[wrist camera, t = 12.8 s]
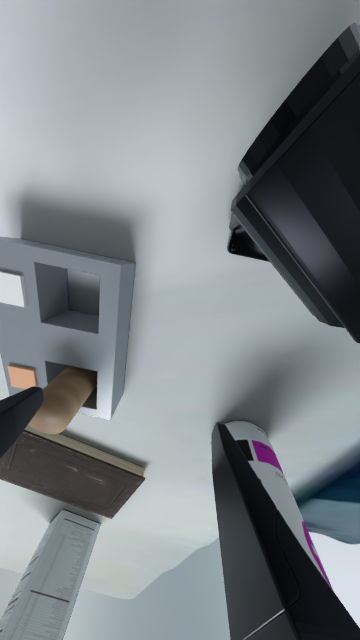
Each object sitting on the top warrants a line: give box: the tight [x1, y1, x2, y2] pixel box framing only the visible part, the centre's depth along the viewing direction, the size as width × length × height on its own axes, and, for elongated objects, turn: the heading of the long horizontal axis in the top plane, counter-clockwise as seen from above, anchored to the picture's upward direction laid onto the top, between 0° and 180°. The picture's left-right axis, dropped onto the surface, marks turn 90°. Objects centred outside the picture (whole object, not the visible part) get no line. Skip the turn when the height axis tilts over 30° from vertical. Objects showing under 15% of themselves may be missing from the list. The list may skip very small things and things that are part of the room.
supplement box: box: [0, 510, 100, 640], centre depth 31 cm, size 10×9×17 cm
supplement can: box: [211, 421, 333, 590], centre depth 19 cm, size 8×8×15 cm
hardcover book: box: [0, 424, 145, 519], centre depth 31 cm, size 16×23×2 cm
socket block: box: [0, 237, 136, 420], centre depth 19 cm, size 12×18×4 cm, turn 169°
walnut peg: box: [29, 366, 98, 434], centre depth 19 cm, size 4×4×8 cm
